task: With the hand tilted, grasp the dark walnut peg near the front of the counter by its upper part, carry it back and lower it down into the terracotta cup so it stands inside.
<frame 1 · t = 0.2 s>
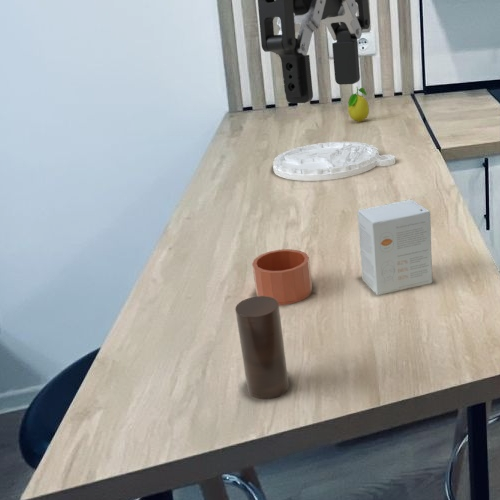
hand: (325, 92, 58), 30 cm above the table, tool pointing down, fingers open, 8 cm apart
lemon: (359, 123, 181), on the table
small box: (396, 284, 89), on the table
socket cup: (284, 293, 90), on the table
medallion: (333, 166, 146), on the table
peg: (268, 389, 70), on the table
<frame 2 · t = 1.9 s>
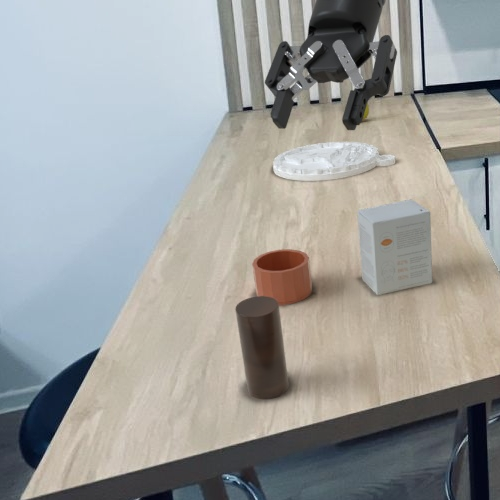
hand: (312, 125, 71), 25 cm above the table, tool tilted 45°, fingers open, 8 cm apart
nothing on the table moved.
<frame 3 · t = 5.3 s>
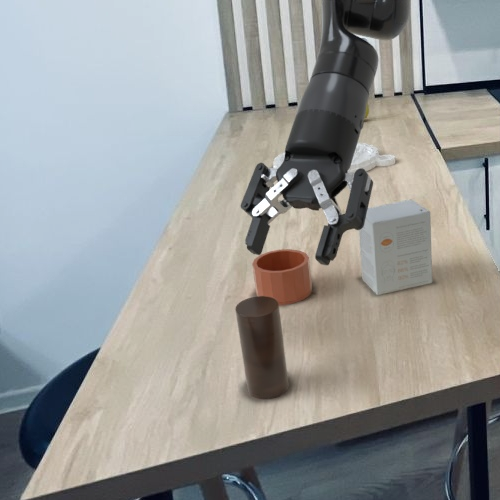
hand: (286, 257, 70), 13 cm above the table, tool tilted 45°, fingers open, 8 cm apart
nothing on the table moved.
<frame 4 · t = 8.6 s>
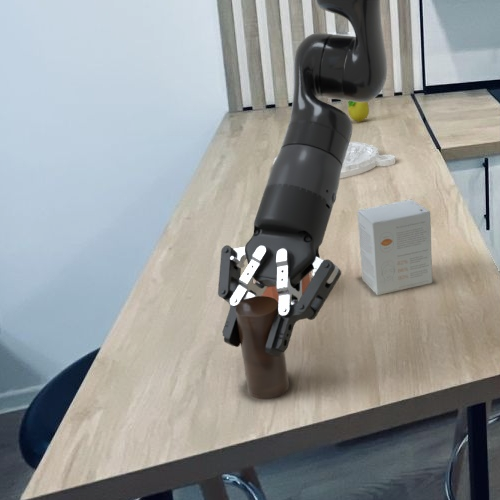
hand: (251, 348, 66), 6 cm above the table, tool tilted 45°, fingers closed on peg, 4 cm apart
peg: (268, 389, 70), on the table, touching gripper
everything else where it was.
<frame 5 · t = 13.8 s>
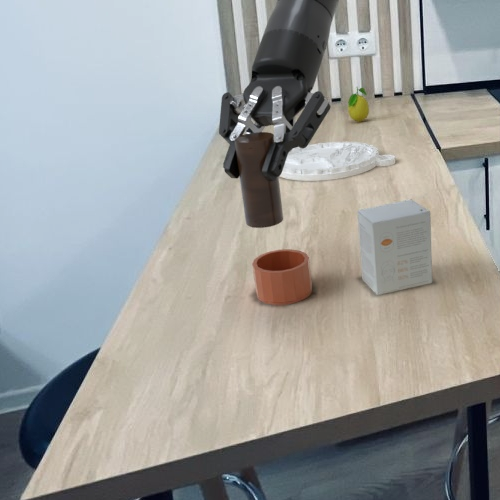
hand: (249, 176, 73), 20 cm above the table, tool tilted 45°, fingers closed on peg, 4 cm apart
peg: (264, 220, 77), point 14 cm above the table, touching gripper
everything else where it was.
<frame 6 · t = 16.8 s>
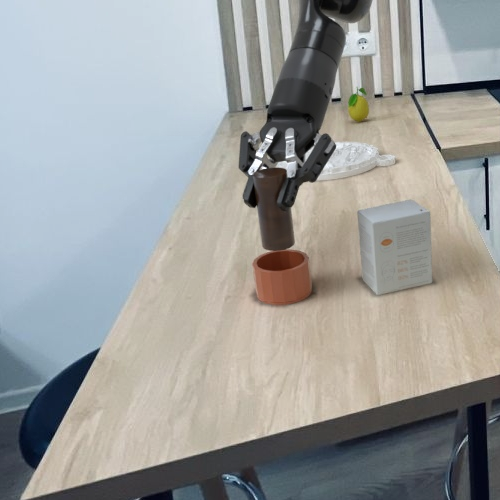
hand: (265, 206, 84), 13 cm above the table, tool tilted 45°, fingers closed on peg, 4 cm apart
peg: (278, 244, 88), point 7 cm above the table, touching gripper
everything else where it was.
when the fingers open (7 cm above the table, at t = 19.1 s): peg stays where it is, resting on socket cup.
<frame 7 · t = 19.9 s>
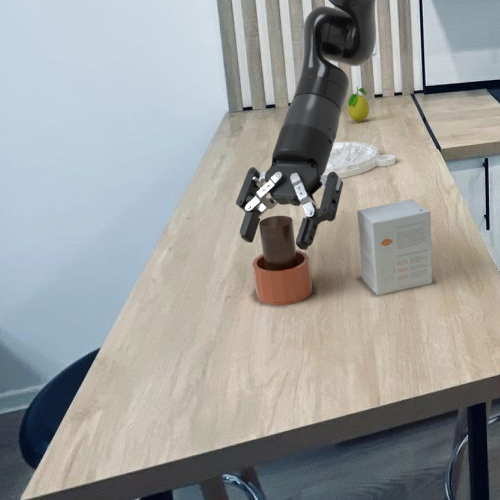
hand: (273, 243, 86), 8 cm above the table, tool tilted 45°, fingers open, 8 cm apart
peg: (283, 289, 90), point 1 cm above the table, touching socket cup
everything else where it was.
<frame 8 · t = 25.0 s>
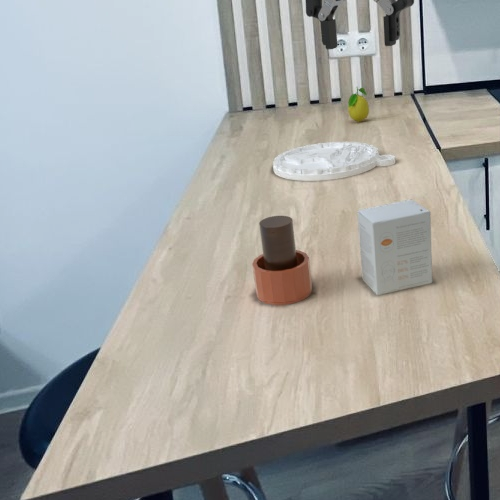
hand: (360, 47, 87), 30 cm above the table, tool pointing down, fingers open, 8 cm apart
nothing on the table moved.
at the end: peg 0.1 cm off-centre in the socket cup, point 0.6 cm above the socket cup's base; peg tilted 0°; the gripper is holding nothing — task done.
